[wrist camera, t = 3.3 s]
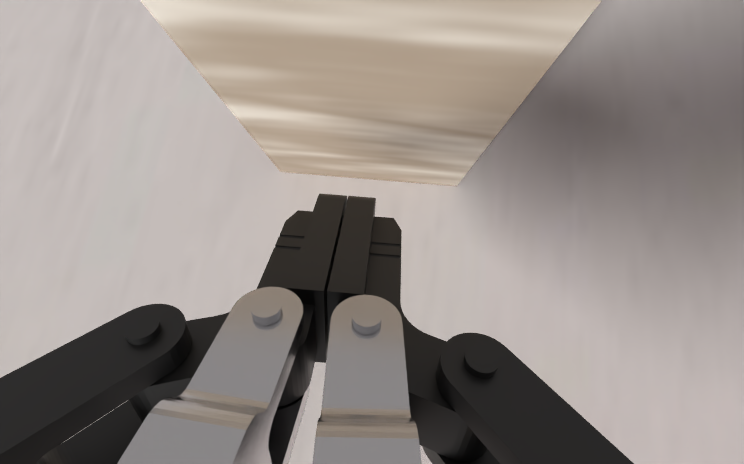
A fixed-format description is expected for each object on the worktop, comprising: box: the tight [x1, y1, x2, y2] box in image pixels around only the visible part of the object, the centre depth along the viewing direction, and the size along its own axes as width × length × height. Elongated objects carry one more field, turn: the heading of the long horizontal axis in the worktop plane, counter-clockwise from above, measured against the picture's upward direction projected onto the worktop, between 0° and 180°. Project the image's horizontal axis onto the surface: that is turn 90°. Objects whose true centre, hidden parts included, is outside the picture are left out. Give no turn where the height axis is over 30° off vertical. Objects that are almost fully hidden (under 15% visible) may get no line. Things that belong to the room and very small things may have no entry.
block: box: [140, 0, 602, 186], centre depth 15 cm, size 4×10×16 cm, turn 85°
